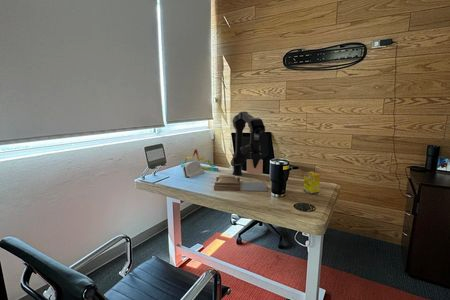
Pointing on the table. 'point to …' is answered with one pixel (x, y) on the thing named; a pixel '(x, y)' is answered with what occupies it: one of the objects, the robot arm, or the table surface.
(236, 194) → the table surface
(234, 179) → the offcut stack
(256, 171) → the terracotta board
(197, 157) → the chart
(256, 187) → the charcoal mat
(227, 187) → the walnut rack
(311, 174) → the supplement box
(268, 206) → the table surface
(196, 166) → the beige rounded block
